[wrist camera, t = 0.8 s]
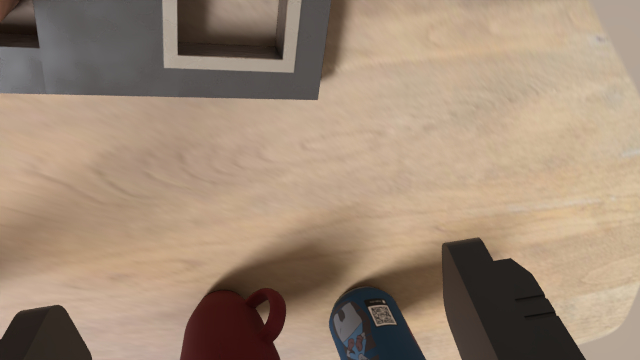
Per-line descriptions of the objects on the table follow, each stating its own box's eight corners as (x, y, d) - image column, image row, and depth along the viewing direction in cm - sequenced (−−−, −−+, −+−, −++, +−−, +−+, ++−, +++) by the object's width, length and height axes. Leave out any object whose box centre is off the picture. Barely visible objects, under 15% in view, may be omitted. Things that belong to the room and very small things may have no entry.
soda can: (382, 329, 54) (432, 434, 44) (319, 334, 52) (357, 446, 42) (398, 279, 51) (457, 381, 41) (332, 282, 48) (376, 391, 39)
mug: (222, 238, 42) (237, 329, 34) (298, 270, 46) (328, 358, 38) (157, 323, 45) (156, 426, 37) (233, 346, 49) (249, 444, 41)
